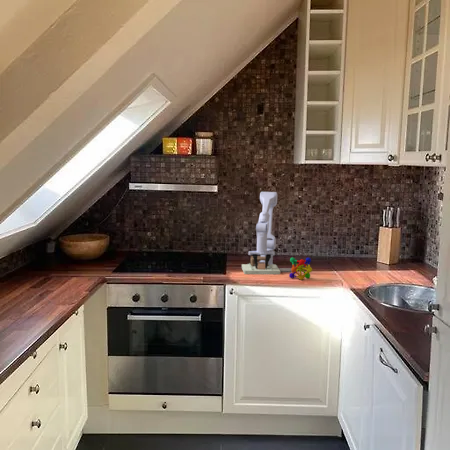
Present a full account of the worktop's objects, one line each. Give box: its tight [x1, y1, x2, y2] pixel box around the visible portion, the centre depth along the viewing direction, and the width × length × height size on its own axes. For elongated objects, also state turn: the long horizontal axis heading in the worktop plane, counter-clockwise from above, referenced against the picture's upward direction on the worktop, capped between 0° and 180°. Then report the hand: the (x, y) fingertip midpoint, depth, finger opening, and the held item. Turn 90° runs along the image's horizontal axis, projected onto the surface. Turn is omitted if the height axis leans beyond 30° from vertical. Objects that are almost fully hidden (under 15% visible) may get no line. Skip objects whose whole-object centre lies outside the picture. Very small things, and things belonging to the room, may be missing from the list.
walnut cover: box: [249, 255, 268, 266], centre depth 278 cm, size 7×9×4 cm
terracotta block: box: [257, 261, 265, 270], centre depth 271 cm, size 4×4×5 cm
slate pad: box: [278, 267, 292, 273], centre depth 275 cm, size 7×7×1 cm
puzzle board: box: [241, 262, 281, 275], centre depth 273 cm, size 16×20×3 cm
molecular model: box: [289, 256, 313, 281], centre depth 256 cm, size 11×7×12 cm, turn 92°
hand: (261, 267), depth 271 cm, fingers open, 5 cm apart
